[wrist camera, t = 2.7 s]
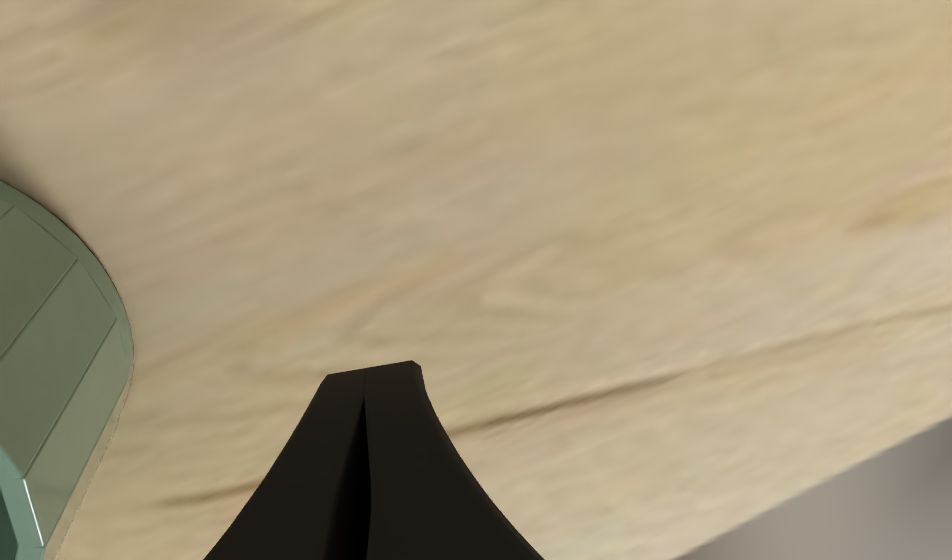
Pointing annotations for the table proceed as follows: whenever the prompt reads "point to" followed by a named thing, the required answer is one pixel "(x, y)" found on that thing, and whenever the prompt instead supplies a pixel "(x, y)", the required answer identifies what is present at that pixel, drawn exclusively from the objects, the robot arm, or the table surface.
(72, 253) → the waste bin
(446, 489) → the robot arm
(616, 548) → the table surface
